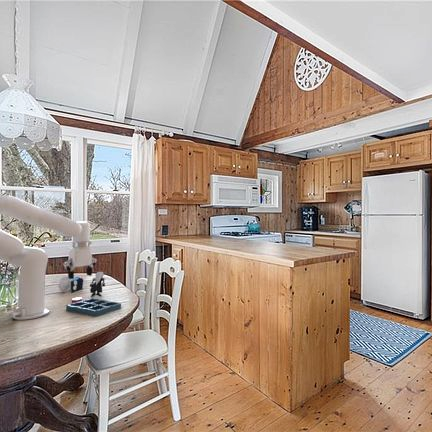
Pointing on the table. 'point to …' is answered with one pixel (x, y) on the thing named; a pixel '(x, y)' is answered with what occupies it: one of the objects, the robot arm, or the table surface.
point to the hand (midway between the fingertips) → (80, 277)
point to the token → (76, 300)
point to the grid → (93, 307)
